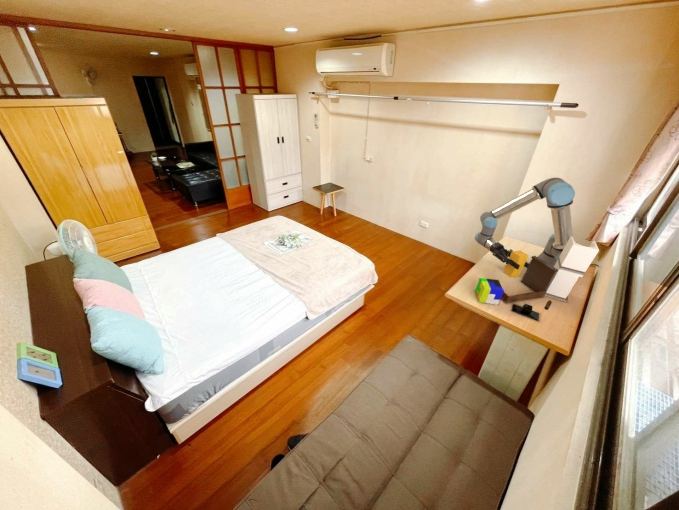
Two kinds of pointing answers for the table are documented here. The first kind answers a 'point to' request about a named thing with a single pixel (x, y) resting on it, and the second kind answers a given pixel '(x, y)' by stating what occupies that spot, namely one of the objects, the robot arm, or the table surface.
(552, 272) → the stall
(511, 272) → the yellow block
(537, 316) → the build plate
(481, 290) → the puzzle toy
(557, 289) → the white stepped block
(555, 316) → the table surface
